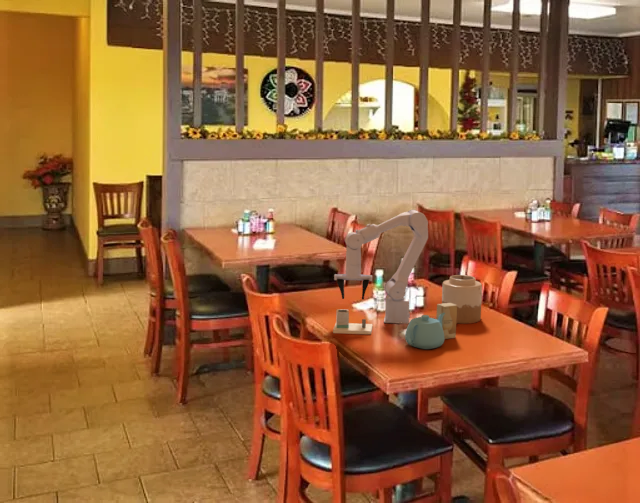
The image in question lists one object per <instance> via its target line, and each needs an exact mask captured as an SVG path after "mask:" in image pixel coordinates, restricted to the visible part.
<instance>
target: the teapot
mask: <svg viewBox="0 0 640 503" xmlns="http://www.w3.org/2000/svg"><path fill="white" fill-rule="evenodd" d="M444 314H445V313H441V314H440V315H439V317H438V320H436V318H432V317H430V315H428V314H423V315H421V316H419V317H414V318H411V319H410V321H409V323H408V325H407V327H406V330H405V335H404V339H405V342H406V344H407V345H409V346H411V347H414V348H418V349H421V350H431V349H432V350H433V349H436V348H439V347H440V348H441V346H443V345H444V343H445V340H446V339H445V338H444V332H443V328H442V319H443V316H444Z"/></svg>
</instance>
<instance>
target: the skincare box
mask: <svg viewBox="0 0 640 503" xmlns="http://www.w3.org/2000/svg"><path fill="white" fill-rule="evenodd" d="M441 313H445V314H444V316H443V319H442V328H443V332H444V338H445V340H447V339H455V338H456V334H457V333H456V332H457V323H456V318H457V305H455V304H452V303H443V304H442V303H437V304H436V316H435V319H436V320H438V317H439V315H440V314H441Z"/></svg>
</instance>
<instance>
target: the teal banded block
mask: <svg viewBox="0 0 640 503" xmlns="http://www.w3.org/2000/svg"><path fill="white" fill-rule="evenodd" d="M335 320H336V321H335V324H336V326H337V328H349V323H350V312H349V309H345V308H343V309H341V308H340V309H338V308H337V309H336V318H335Z"/></svg>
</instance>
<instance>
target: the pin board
mask: <svg viewBox="0 0 640 503" xmlns="http://www.w3.org/2000/svg"><path fill="white" fill-rule="evenodd" d="M366 320H367V319H366V318H362V319H361V323H356V322H355V323H352V322H349V328H337V326H336V323H335V324H334V326H333V329H332V333H333V334H345V335H346V334H347V335H348V334H349V335H351V334H352V335H372V333H373V327H374V326H373V325H374V324H373V323H367V321H366Z"/></svg>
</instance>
